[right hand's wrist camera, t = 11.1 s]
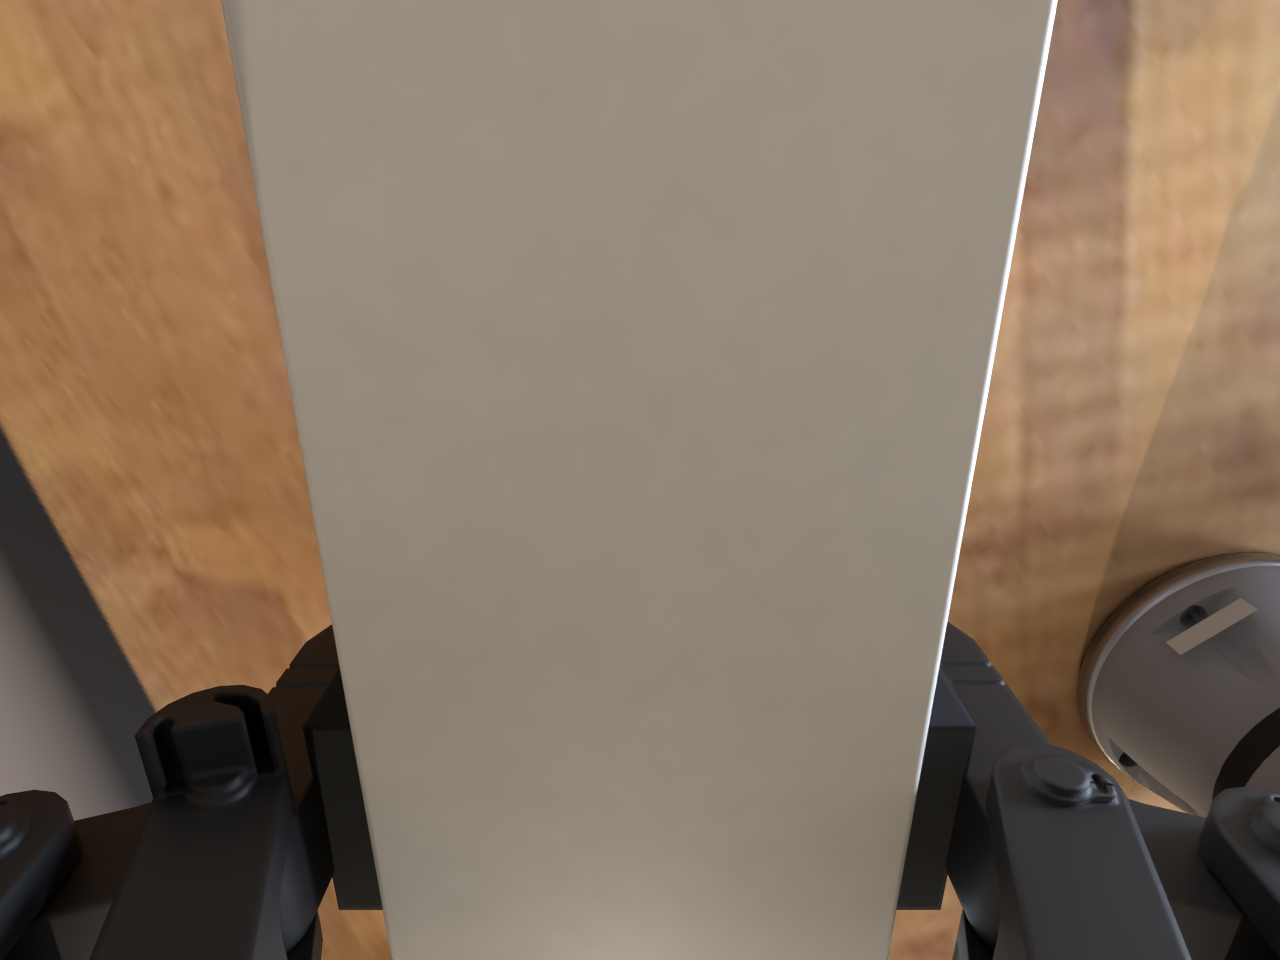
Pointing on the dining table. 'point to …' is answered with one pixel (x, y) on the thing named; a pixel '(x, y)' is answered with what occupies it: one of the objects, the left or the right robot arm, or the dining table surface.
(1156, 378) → the dining table surface
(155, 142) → the dining table surface
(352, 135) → the bar
